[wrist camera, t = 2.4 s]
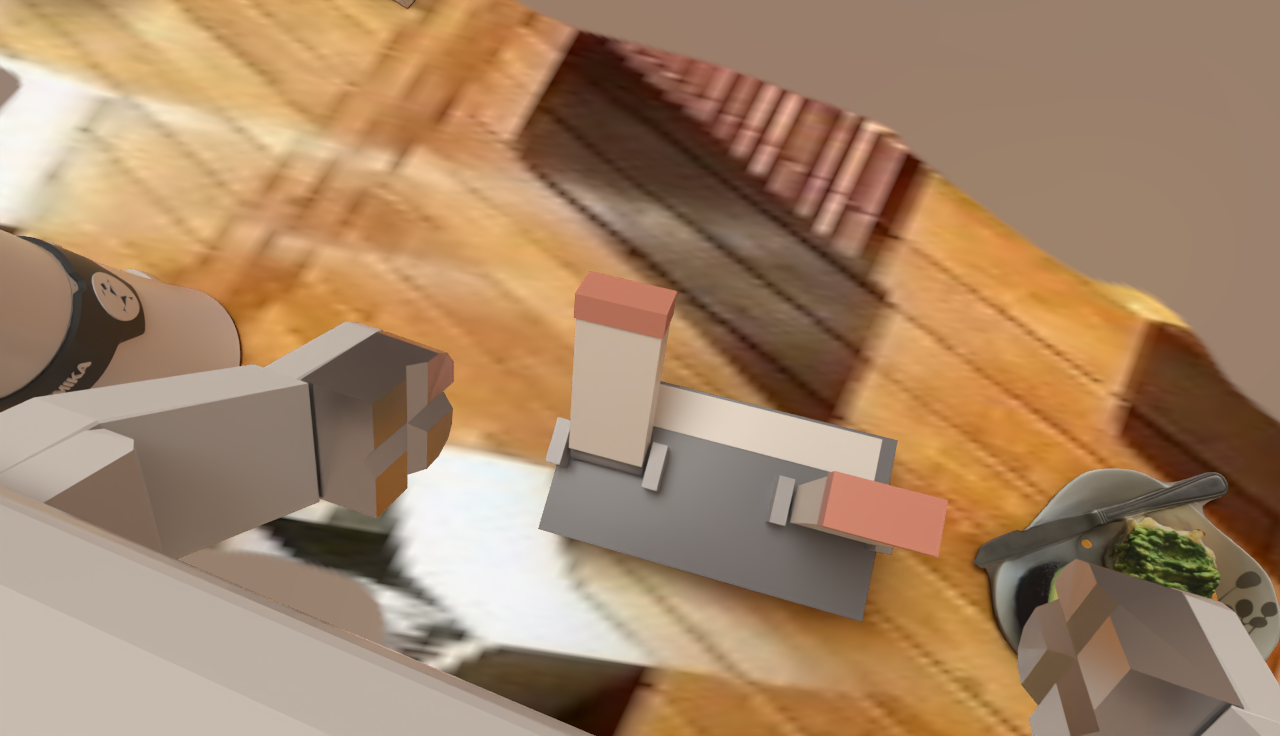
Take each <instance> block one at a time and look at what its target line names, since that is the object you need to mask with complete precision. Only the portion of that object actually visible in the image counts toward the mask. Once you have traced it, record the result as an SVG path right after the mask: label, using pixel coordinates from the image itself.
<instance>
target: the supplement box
mask: <svg viewBox="0 0 1280 736" xmlns="http://www.w3.org/2000/svg"><path fill="white" fill-rule="evenodd" d="M395 1H396V2H398V3H400V4H401V5H403V6H404V7H406V8H408V7H409V6H410V5H411V4H412V2H413V1H414V0H395Z"/></svg>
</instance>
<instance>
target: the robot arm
mask: <svg viewBox="0 0 1280 736" xmlns="http://www.w3.org/2000/svg"><path fill="white" fill-rule="evenodd" d="M239 364H240V345H239V339H238V334H237V331H236V328H235V325H234V323H233V321H232V319H231V317H230V316H229V314H228V313H227V311H226V310H225V309H224V308H223V307H222V306H221V305H220V303H218V302H217V301H216V300H215V299H213V298H212V297H210V296H209V295H207V294H205V293H203V292H201V291H198V290H195V289H192V288H187V287H181V286H175V285H170V284H166V283H162V282H161V281H160V280H158V279H157V278H155V277H153V276H152V275H150V274H148V273H146V272H143V271H139V270H136V269H128V270H125V271H123V270H119V269H116V268H113V267H109V266H106V265H103V264H100V263H96V262H93V261H92V260H90V259H88V258H85V257H83V256H81V255H78V254H76V253H73V252H71V251H69V250H66V249H64V248H62V246H59V245H57V244H54V243H50V242H45V241H43V240H39V239H36V238H32V237H26V236H14V235H12V234H10V233H7V232H5V231H2V230H0V736H594V735H592V734H590V733H587V732H585V731H582V730H580V729H578V728H575V727H573V726H571V725H568V724H566V723H563V722H561V721H559V720H556V719H554V718H552V717H549V716H547V715H544V714H542V713H540V712H537V711H535V710H533V709H530V708H528V707H526V706H523V705H521V704H518V703H516V702H514V701H511V700H509V699H507V698H504V697H502V696H499V695H497V694H495V693H492V692H490V691H488V690H485V689H483V688H481V687H478V686H476V685H473V684H471V683H469V682H466V681H464V680H462V679H459V678H457V677H455V676H452V675H450V674H447V673H445V672H443V671H440V670H438V669H436V668H433V667H431V666H428V665H426V664H424V663H421V662H419V661H417V660H414V659H412V658H410V657H407V656H405V655H402V654H400V653H398V652H395V651H393V650H391V649H388V648H386V647H383V646H381V645H379V644H376V643H374V642H372V641H369V640H367V639H365V638H362V637H360V636H357V635H355V634H353V633H350V632H348V631H346V630H343V629H341V628H339V627H336V626H334V625H331V624H329V623H327V622H324V621H322V620H319V619H317V618H315V617H312V616H310V615H308V614H305V613H303V612H301V611H298V610H296V609H294V608H291V607H289V606H286V605H284V604H282V603H279V602H277V601H275V600H272V599H270V598H267V597H265V596H263V595H260V594H258V593H256V592H253V591H251V590H248V589H246V588H244V587H241V586H239V585H237V584H234V583H232V582H229V581H227V580H225V579H222V578H220V577H218V576H215V575H213V574H211V573H208V572H206V571H203V570H201V569H199V568H196V567H194V566H192V565H189V564H187V563H184V562H182V561H179V560H177V559H178V558H181V557H183V556H186V555H188V554H191V553H193V552H196V551H198V550H201V549H203V548H206V547H208V546H211V545H213V544H216V543H218V542H220V541H223V540H225V539H228V538H230V537H233V536H235V535H238V534H240V533H243V532H245V531H248V530H250V529H253V528H255V527H258V526H260V525H263V524H265V523H268V522H270V521H273V520H275V519H278V518H280V517H283V516H285V515H288V514H290V513H293V512H295V511H297V510H300V509H302V508H305V507H307V506H310V505H312V504H315V503H317V502H319V501H320V500H319V498H320V499H323V500H326V501H329V502H331V503H334V504H337V505H340V506H343V507H346V508H349V509H351V510H354V511H357V512H360V513H363V514H366V515H369V516H371V517H374V518H378V517H379V516H380V515H381V514H382V513H383V512H384V511H385V510H386V509H387V508H388V507H389V506H390V505H391V504H392V503H393V502H394V501H395V500H396V499H397V498H398V497H399V496H400V495H401V494H402V493H403V492H404V491H405V490H406V489H407V475H408V474H411V473H414V472H418V471H421V470H424V469H427V468H428V467H429V466H430V465H431V464H432V463H433V461H434V460H435V459H436V458H437V457H438V456H439V454H440V452H441V451H442V449H443V447H444V445H445V443H446V441H447V439H448V437H449V433H450V429H451V425H452V412H453V408H452V406H451V404H450V402H449V401H448V399H447V397H446V395H445V393H444V392H443V391H444V390H445V389H446V388H447V387H448V386H450V385H451V384H452V383H453V382H454V361H453V360H452V358H451V357H450V356H449V354H448V353H446V352H443V351H441V350H438V349H435V348H432V347H429V346H426V345H423V344H421V343H418V342H415V341H412V340H409V339H406V338H403V337H401V336H398V335H395V334H392V333H389V332H384V331H383V330H381V329H378V328H374V327H371V326H368V325H365V324H362V323H359V322H349V321H346V322H344V323H342V324H340V325H339V326H337V327H335V328H333V329H331V330H330V331H328V332H326V333H324V334H323V335H321V336H319V337H317V338H315V339H314V340H312V341H310V342H308V343H306V344H305V345H303V346H301V347H299V348H298V349H296V350H294V351H292V352H290V353H289V354H287V355H285V356H283V357H282V358H280V359H278V360H276V361H274V362H273V363H271V364H269V365H267V366H265V367H261V366H258V365H255V364H252V365H245V366H239ZM1054 584H1055V588H1056V591H1057V595H1058V599H1057V600H1055V601H1052V602H1049V603H1046V604H1044V605H1041V606H1038V607H1036V608H1035V610H1034V611H1033V613H1032V614H1031V616H1030V618H1029V619H1028V621H1027V622H1026V624H1025V626H1024V628H1023V632H1022V635H1021V639H1020V643H1019V647H1018V669H1019V674H1020V679H1021V685H1022V686H1023V687H1024V688H1025V690H1026V691H1027V692H1028V693H1029V694H1030V696H1031V697H1032V698H1033V699H1034V701H1035V702H1036V703H1037V704H1038V707H1037V708H1036V710H1035V711H1034V712H1033V714H1032V715H1031V716H1030V717H1029V722H1030V726H1031V731H1032V735H1033V736H1280V685H1279V684H1278V682H1277V680H1276V679H1275V677H1274V675H1273V674H1272V672H1271V670H1270V669H1269V667H1268V666H1267V664H1266V662H1265V661H1264V659H1263V657H1262V656H1261V654H1260V652H1259V651H1258V649H1257V648H1256V646H1255V644H1254V643H1253V641H1252V639H1251V638H1250V636H1249V634H1248V633H1247V631H1246V629H1245V628H1244V626H1243V625H1242V623H1241V621H1240V620H1239V618H1238V616H1237V615H1236V613H1235V612H1234V611H1233V610H1231V609H1230V608H1229V607H1227V606H1226V605H1225V604H1223V603H1222V602H1219V601H1216V600H1212V599H1209V598H1206V597H1202V596H1199V595H1195V594H1192V593H1189V592H1185V591H1182V590H1178V589H1175V588H1169V587H1165V586H1162V585H1159V584H1156V583H1152V582H1149V581H1146V580H1143V579H1140V578H1136V577H1133V576H1130V575H1127V574H1124V573H1120V572H1117V571H1114V570H1111V569H1108V568H1104V567H1101V566H1098V565H1095V564H1091V563H1088V562H1085V561H1082V560H1079V559H1075V560H1073V561H1072V562H1071V563H1069V564H1068V565H1066V566H1065V567H1064V568H1063V570H1062V571H1061V572H1060V574H1059V575H1058V576H1057V578H1056V579H1055V581H1054Z"/></svg>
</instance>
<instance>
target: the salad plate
mask: <svg viewBox="0 0 1280 736" xmlns="http://www.w3.org/2000/svg"><path fill="white" fill-rule="evenodd" d="M1227 489H1228V483H1227V481H1226V480H1225V478H1224V477H1223V476H1222V475H1221V474H1219V473H1212V472H1208V473H1203V474H1201V475H1197V476H1194V477H1191V478H1188V479H1185V480H1182V481H1177V482H1171V483H1167V482H1161V481H1159V480H1157V479H1155V478H1152V477H1150V476H1148V475H1146V474H1144V473H1141V472H1138V471H1134V470H1126V469H1097V470H1091V471H1088V472H1085V473H1083V474H1081V475H1080V476H1078V477H1076V478H1075V479H1073V480H1072V481H1071V482H1069V483H1068V484H1067V485H1066V486H1065V487H1064V488H1062V489H1061V490H1060V491H1059V492H1058V493H1057V494H1056V495H1055V496H1054V497H1053V498H1052V499H1051V500H1050V501H1049V503H1048V504H1047V506H1046V507H1045V508H1044V509H1043V510H1042V511H1041V512H1040V513H1039V514H1038V516H1037V517H1036V518H1035V519H1034V520H1033V521H1032V523H1031V524H1030V525H1029V526H1028V527H1027V528H1026V529H1024V530H1023V531H1018V530H1016V531H1013V532H1010V533H1007V534H1005V535H1002V536H1000V537H998V538H995V539H993V540H991V541H990V542H988V543H986V544H984V545H982V546H981V547H980V548H979V551H978V554H977V556H976V558H975V560H974V562H973V563H974V564H976V565H977V566H979V567H980V568H985V569H986V570H987V573H988V576H989V580H990V588H991V599H992V605H993V611H994V616H995V618H996V621H997V624H998V627H999V628H1000V630H1001V632H1002V634H1003V636H1004V638H1005V639H1006V640H1007V642H1008V643H1009V644H1010V646H1011V647H1012V649H1013V650H1014V651H1015V652H1016V654H1017V655H1018V647H1019V643H1020V639H1021V635H1022V632H1023V628H1024V626H1025V624H1026V622H1027V621H1028V619H1029V618H1030V616H1031V614H1032V613H1033V611H1034V610H1035V608H1036V607H1038V606H1041V605H1044V604H1046V603H1049V602H1052V601H1055V600H1057V599H1058V595H1057V591H1056V588H1055V584H1054V581H1055V579H1056V578H1057V576H1058V575H1059V574H1060V572H1061V571H1062V570H1063V568H1064V567H1065V566H1066V565H1068V564H1069V563H1071V562H1072V561H1073V560H1075V559H1079V560H1082V561H1085V562H1088V563H1091V564H1095V565H1098V566H1101V567H1104V568H1108V569H1111V570H1114V571H1117V572H1120V573H1124V574H1127V575H1130V576H1133V577H1136V578H1140V579H1143V580H1146V581H1149V582H1152V583H1156V584H1159V585H1162V586H1165V587H1169V588H1175V589H1178V590H1182V591H1185V592H1189V593H1192V594H1195V595H1199V596H1202V597H1206V598H1209V599H1212V600H1213V593H1215V590H1216V594H1217V599H1218V601H1219V602H1222V603H1223V604H1225V605H1226V606H1227V607H1229V608H1230V609H1231V610H1233V611H1234V612H1235V613H1236V615H1237V616H1238V618H1239V620H1240V621H1241V623H1242V625H1243V626H1244V628H1245V629H1246V631H1247V633H1248V634H1249V636H1250V638H1251V639H1252V641H1253V643H1254V644H1255V646H1256V648H1257V649H1258V651H1259V652H1260V654H1261V656H1262V657H1263V659H1264V661H1266V660H1267V659H1268V657H1269V655H1270V654H1271V652H1272V651H1273V650H1274V648H1275V647H1276V645H1277V643H1278V641H1279V638H1280V608H1279V604H1278V600H1277V596H1276V593H1275V590H1274V587H1273V585H1272V583H1271V580H1270V578H1269V575H1268V574H1267V573H1266V572H1265V571H1264V570H1263V569H1262V567H1261V566H1260V565H1259V564H1258V563H1257V562H1256V561H1255V560H1254V559H1253V558H1252V557H1251V556H1250V555H1249V554H1247V553H1246V552H1245V551H1244V550H1243V549H1242V548H1240V547H1239V546H1238V545H1237V544H1235V543H1234V542H1233V541H1232V540H1231V539H1230V538H1229V537H1228V536H1226V535H1225V534H1223V533H1222V532H1221V531H1220V530H1219V529H1217V528H1216V527H1215V526H1214V525H1213V524H1212V523H1211V522H1210V521H1209V520H1208V518H1207V517H1205V515H1204V513H1203V508H1202V507H1203V505H1205V504H1206V503H1207V502H1209V501H1211V500H1213V499H1217V498H1220V497H1221V496H1223V495H1224V494H1226V492H1227ZM1083 539H1087V540H1089V541H1090V542H1091V543H1092V545H1093V546H1092V547H1091V548H1089V549H1087V548H1084V547H1083V546H1082V544H1081V541H1082V540H1083Z"/></svg>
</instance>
